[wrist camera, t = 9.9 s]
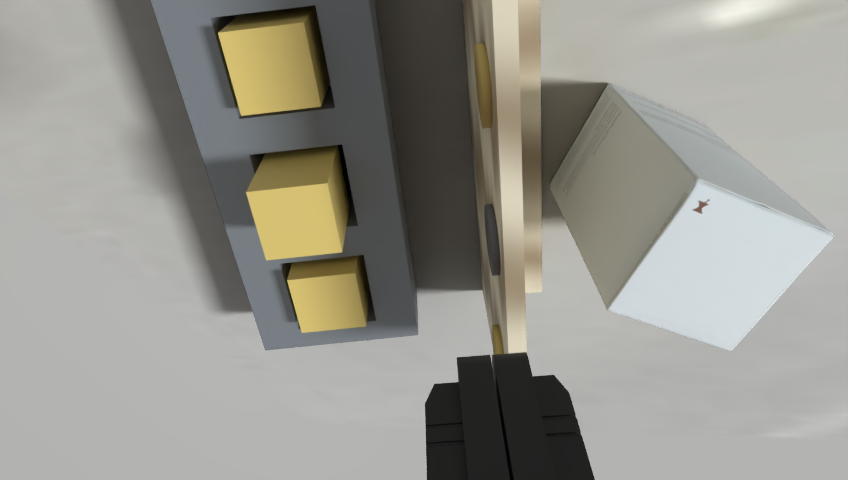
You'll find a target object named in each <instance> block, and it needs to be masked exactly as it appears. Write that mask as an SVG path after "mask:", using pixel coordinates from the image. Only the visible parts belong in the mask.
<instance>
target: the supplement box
mask: <svg viewBox="0 0 848 480" xmlns="http://www.w3.org/2000/svg"><path fill="white" fill-rule="evenodd" d="M549 187H550V189H551V192H552V194H553V196H554V198H555V200H556V202H557V204H558V207H559V209H560V211H561V213H562V215H563V217H564V219H565V221H566V223H567V226H568V228H569V230H570V232H571V234H572V236H573V238H574V240H575V242H576V245H577V247H578V249H579V251H580V253H581V255H582V257H583V259H584V262H585V264H586V266H587V268H588V270H589V272H590V274H591V276H592V278H593V281H594V283H595V285H596V287H597V289H598V291H599V293H600V295H601V297H602V300H603V302H604V304H605V307H606V309H607V310H608V311H610V312H613V313H616V314H620V315H623V316H626V317H629V318H632V319H635V320H638V321H641V322H644V323H647V324H649V325H652V326H655V327H658V328H661V329H665V330H668V331H671V332H674V333H677V334H680V335H683V336H686V337H689V338H691V339H694V340H697V341H700V342H703V343H706V344H709V345H712V346H715V347H718V348H721V349H724V350H727V351H732V350H733V349H734V347H735V346H736V345H737V344H738V343H739V342H740V341H741V340H742V339H743V338H744V336H745V335H746V334H747V333H748V332H749V331H750V330H751V329H752V328H753V326H754V325H755V324H756V323H757V322H758V321H759V320H760V318H761V317H762V316H763V315H764V314H765V313H766V312H767V311H768V310H769V308H770V307H771V306H772V305H773V304H774V303H775V302H776V301H777V299H778V298H779V297H780V296H781V295H782V294H783V292H784V291H785V290H786V289H787V288H788V287H789V286H790V284H791V283H792V282H793V281H794V280H795V279H796V277H797V276H798V275H799V274H800V273H801V272H802V271H803V270H804V269H805V268H806V266H807V265H808V264H809V263H810V262H811V261H812V260H813V259H814V258H815V257H816V256H817V255H818V254H819V252H820V251H821V250H822V249H823V248H824V247H825V246H826V245H827V244H828V243H829V242H830V241H831V240H832V238H833V237H834V234H833V233H832V232H831V231H830V230H829V229H827V228H826V227H825V226H824V225H823V224H822V223H821V222H820V221H819V220H818V219H816V218H815V217H814V216H813V215H812V214H811V213H810V212H808V211H807V210H806V209H805V208H804V207H803V206H801V205H800V204H799V203H798V202H797V201H795V200H794V199H793V198H792V197H791V196H790V195H788V194H787V193H786V192H785V191H784V190H782V189H781V188H780V187H779V186H777V185H776V184H775V183H774V182H773V181H771V180H770V179H769V178H768V177H767V176H766V175H764V174H763V173H762V172H761V171H760V170H758V169H757V168H756V167H755V166H754V165H752V164H751V163H750V162H749V161H748V160H746V159H745V158H744V157H743V156H742V155H740V154H739V153H738V152H737V151H736V150H734V149H733V148H732V147H731V146H730V145H729V144H727V143H726V142H725V141H724V140H723V139H722V138H721V137H720V136H718V135H717V134H716V133H715V132H714V131H713V130H711V129H710V128H709V127H708V126H706V125H704V124H702V123H700V122H698V121H695V120H693V119H691V118H689V117H687V116H684V115H682V114H680V113H678V112H675V111H673V110H671V109H668V108H666V107H664V106H661V105H659V104H657V103H654V102H652V101H650V100H648V99H645V98H643V97H641V96H638V95H636V94H634V93H631V92H629V91H627V90H624V89H622V88H619V87H617V86H615V85H613V84H608V85H607V87H606V88H605V90H604V92H603V93H602V95H601V97H600V99H599V100H598V102H597V103H596V105H595V107H594V109H593V110H592V112H591V114H590V116H589V117H588V119H587V121H586V122H585V124H584V126H583V127H582V129H581V131H580V133H579V134H578V136H577V138H576V139H575V141H574V143H573V145H572V146H571V148H570V150H569V152H568V153H567V155H566V157H565V158H564V160H563V162H562V164H561V165H560V167H559V169H558V170H557V172H556V174H555V176H554V178H553V179H552V181H551V183H550V186H549Z"/></svg>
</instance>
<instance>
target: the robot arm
mask: <svg viewBox="0 0 848 480" xmlns="http://www.w3.org/2000/svg"><path fill="white" fill-rule="evenodd" d="M457 367H458V380H459V382H456V383H442V384H434V386H433V388H432V390H431V392H430V395H429V397H428V399H427V401H426V403H425V416H426V454H427V455H426V456H427V480H595V479H594V476H593V473H592V469H591V466H590V462H589V459H588V456H587V452H586V449H585V445H584V442H583V438H582V436H581V433H580V428H579V425H578V421H577V418H576V417H575V411H574V408H573V405H572V401H571V398H570V394H569V392H568V391H567V390H566V389H565V388H564V386H563V385H562V384H561V383H560V382H559V381H558V379H557V378H556V377H555V376H554V375H547V376H533V377H532V373H531V368H530V364H529V360H528V356H527V353H526V352H520V353H507V354H494V355H492V363H491V358H490V355H483V356H470V357H457Z"/></svg>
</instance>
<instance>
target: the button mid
mask: <svg viewBox="0 0 848 480" xmlns="http://www.w3.org/2000/svg"><path fill="white" fill-rule="evenodd" d="M246 194H247V198H248V201H249V204H250V208H251V211H252V214H253V218H254V221H255V225H256V228H257V231H258V235H259V238H260V241H261V245H262V248H263V252H264V255H265V258H266V260H275V259H285V258H294V257H304V256H313V255H323V254H332V253H341V252H342V251H343V245H344V239H345V233H346V227H347V221H348V215H349V209H350V205H349V200H348V195H347V190H346V184H345V179H344V174H343V169H342V164H341V159H340V154H339V149H338V145H333V146H324V147H315V148H306V149H297V150H289V151H280V152H271V153H265V155H264V157H263V159H262V161H261V163H260V165H259V167H258V169H257V171H256V173H255V175H254V177H253V179H252V181H251V183H250V185H249V187H248V189H247V191H246Z"/></svg>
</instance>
